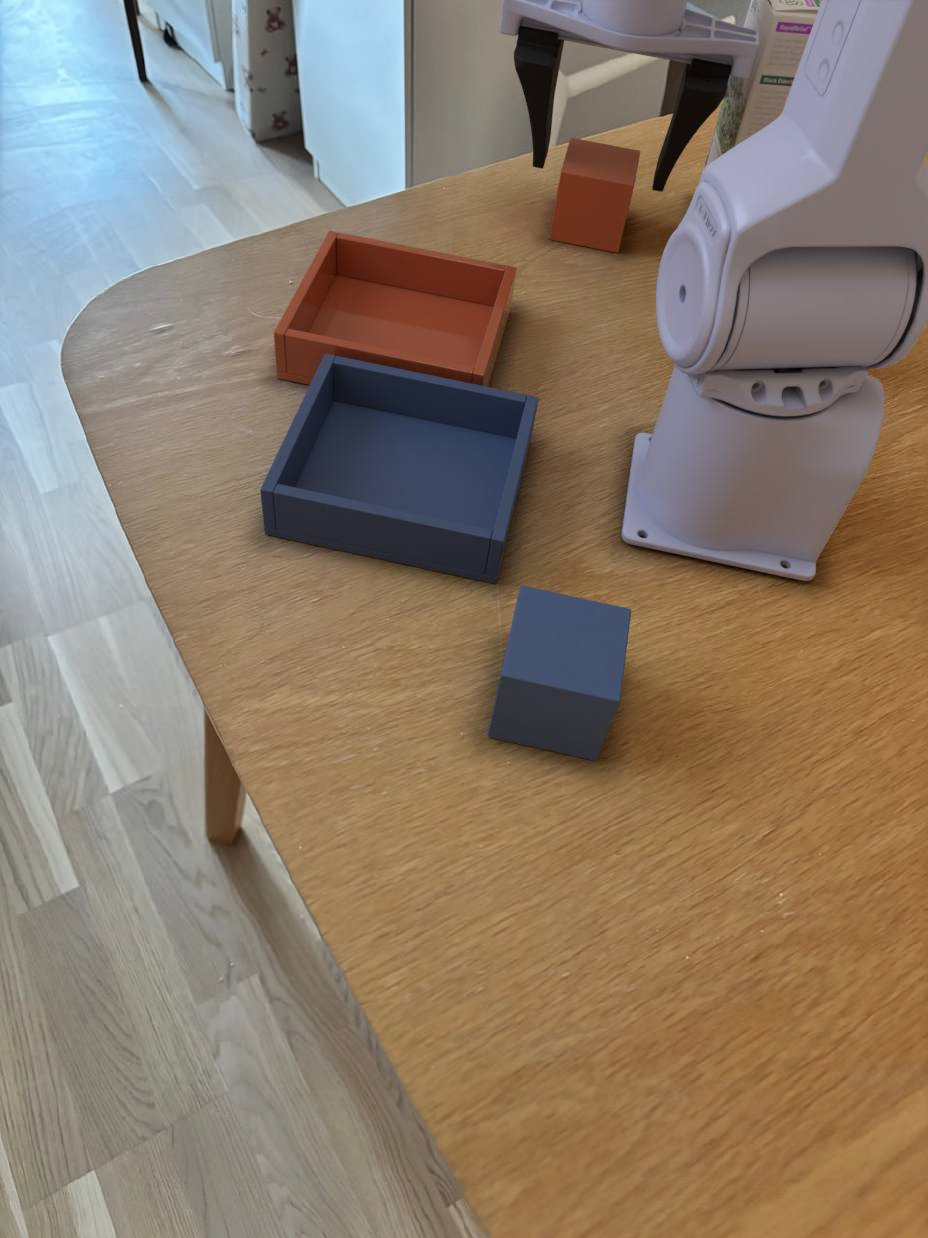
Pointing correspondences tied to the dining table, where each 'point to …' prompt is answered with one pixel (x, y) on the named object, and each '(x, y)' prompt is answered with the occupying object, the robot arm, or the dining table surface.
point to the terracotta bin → (395, 311)
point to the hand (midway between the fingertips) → (599, 171)
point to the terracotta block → (594, 194)
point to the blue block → (561, 673)
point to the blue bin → (401, 468)
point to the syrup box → (764, 71)
